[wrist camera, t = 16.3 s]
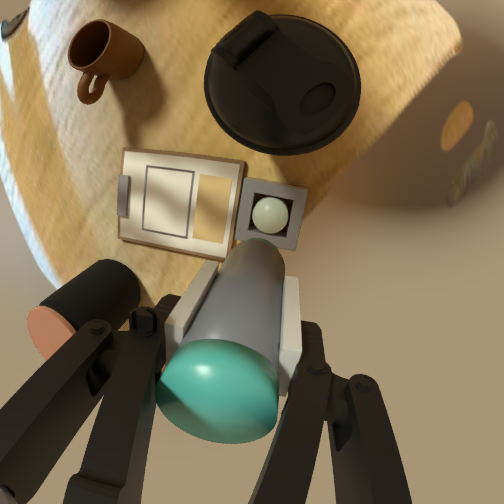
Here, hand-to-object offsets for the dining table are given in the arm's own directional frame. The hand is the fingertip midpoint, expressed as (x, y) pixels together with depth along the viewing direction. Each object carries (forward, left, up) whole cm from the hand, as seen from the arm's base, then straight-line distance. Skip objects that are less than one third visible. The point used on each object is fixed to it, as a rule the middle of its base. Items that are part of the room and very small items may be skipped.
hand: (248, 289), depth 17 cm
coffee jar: (+17, -23, -24) cm, 37 cm away
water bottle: (-13, 0, -24) cm, 27 cm away
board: (+1, -13, -23) cm, 27 cm away
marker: (0, 0, -5) cm, 5 cm away
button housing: (0, 0, -23) cm, 23 cm away
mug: (-18, -25, -24) cm, 39 cm away
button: (0, 0, -23) cm, 23 cm away
